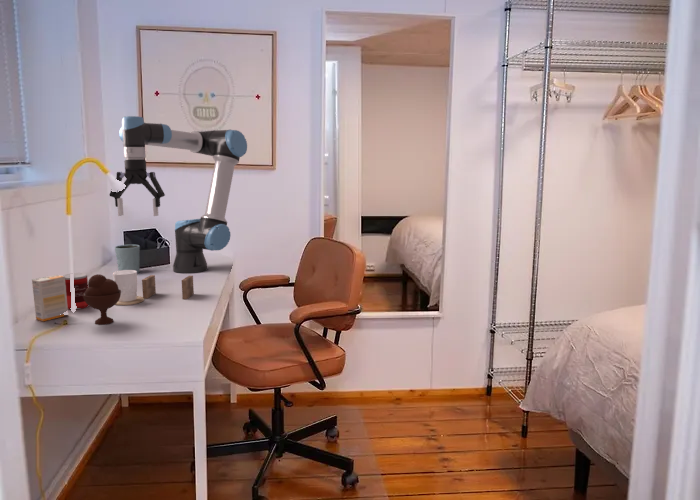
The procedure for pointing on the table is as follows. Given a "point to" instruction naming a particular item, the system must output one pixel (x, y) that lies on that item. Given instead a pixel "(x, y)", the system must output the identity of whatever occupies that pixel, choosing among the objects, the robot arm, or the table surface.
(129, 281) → the white cup
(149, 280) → the walnut cradle
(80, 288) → the canned food
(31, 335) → the table surface
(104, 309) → the ice cream bowl
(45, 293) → the supplement box
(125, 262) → the grey green cup
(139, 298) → the cork coaster
